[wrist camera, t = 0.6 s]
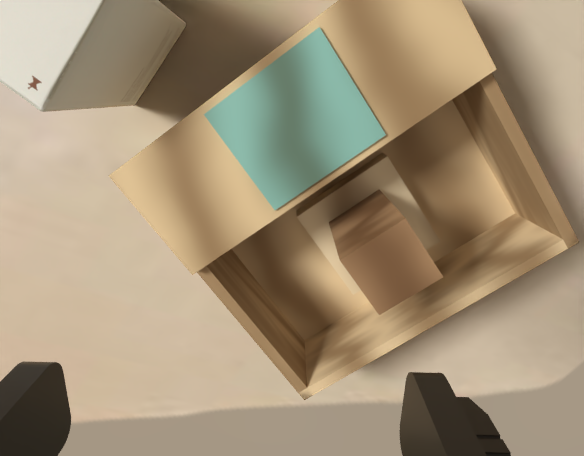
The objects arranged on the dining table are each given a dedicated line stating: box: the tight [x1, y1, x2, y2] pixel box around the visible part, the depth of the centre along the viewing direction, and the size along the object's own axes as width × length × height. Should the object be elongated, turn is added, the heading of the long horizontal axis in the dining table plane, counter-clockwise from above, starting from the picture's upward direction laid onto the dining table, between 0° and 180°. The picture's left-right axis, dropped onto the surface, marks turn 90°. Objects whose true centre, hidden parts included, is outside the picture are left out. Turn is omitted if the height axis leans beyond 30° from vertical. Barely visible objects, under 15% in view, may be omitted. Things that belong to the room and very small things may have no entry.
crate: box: [109, 0, 579, 400], centre depth 30 cm, size 22×21×8 cm
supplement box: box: [0, 0, 186, 112], centre depth 24 cm, size 7×7×13 cm
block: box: [329, 189, 443, 315], centre depth 29 cm, size 4×4×8 cm
